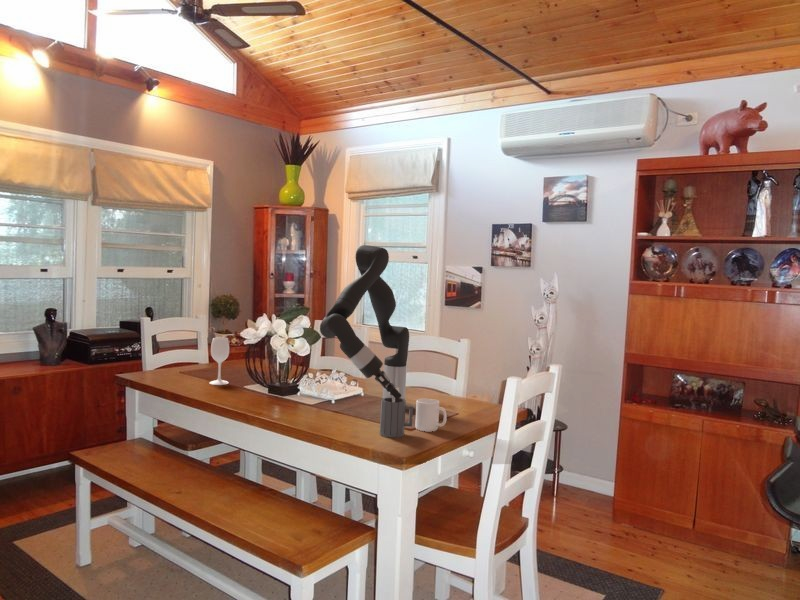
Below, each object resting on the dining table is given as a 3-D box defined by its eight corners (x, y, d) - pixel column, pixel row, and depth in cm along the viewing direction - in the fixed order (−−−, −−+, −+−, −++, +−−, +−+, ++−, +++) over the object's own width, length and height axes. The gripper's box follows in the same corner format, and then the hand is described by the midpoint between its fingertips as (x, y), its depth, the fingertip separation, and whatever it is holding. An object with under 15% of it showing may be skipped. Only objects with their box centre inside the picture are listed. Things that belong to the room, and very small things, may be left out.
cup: (422, 424, 218) (424, 397, 217) (451, 430, 211) (452, 402, 210) (410, 428, 211) (412, 401, 210) (440, 435, 204) (441, 406, 204)
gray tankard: (378, 430, 206) (380, 397, 206) (409, 430, 208) (411, 397, 207) (381, 437, 198) (382, 402, 197) (413, 437, 200) (415, 403, 199)
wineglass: (208, 385, 266) (209, 339, 265) (209, 381, 274) (211, 336, 273) (228, 385, 268) (229, 339, 267) (229, 381, 276) (230, 337, 275)
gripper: (376, 356, 193) (409, 391, 195) (372, 350, 207) (402, 383, 209) (359, 372, 192) (392, 407, 195) (356, 364, 207) (387, 397, 209)
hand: (397, 394), depth 202 cm, fingers open, 8 cm apart
